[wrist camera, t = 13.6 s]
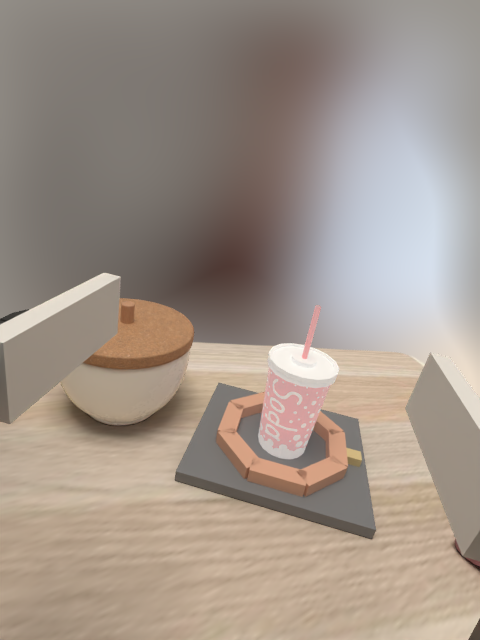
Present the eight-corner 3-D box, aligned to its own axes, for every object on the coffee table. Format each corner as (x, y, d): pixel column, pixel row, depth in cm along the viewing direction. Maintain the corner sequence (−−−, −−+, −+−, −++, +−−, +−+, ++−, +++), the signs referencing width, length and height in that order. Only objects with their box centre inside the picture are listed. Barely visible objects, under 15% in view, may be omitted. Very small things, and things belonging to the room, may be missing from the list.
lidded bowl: (207, 401, 41) (222, 309, 37) (119, 469, 30) (126, 352, 26) (124, 358, 46) (129, 273, 42) (25, 403, 36) (17, 296, 31)
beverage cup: (237, 429, 36) (266, 294, 30) (284, 414, 39) (317, 290, 34) (277, 474, 31) (319, 326, 26) (326, 453, 35) (372, 318, 30)
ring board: (174, 480, 30) (177, 459, 29) (217, 389, 43) (220, 373, 42) (371, 539, 28) (380, 518, 28) (355, 426, 41) (361, 410, 40)
